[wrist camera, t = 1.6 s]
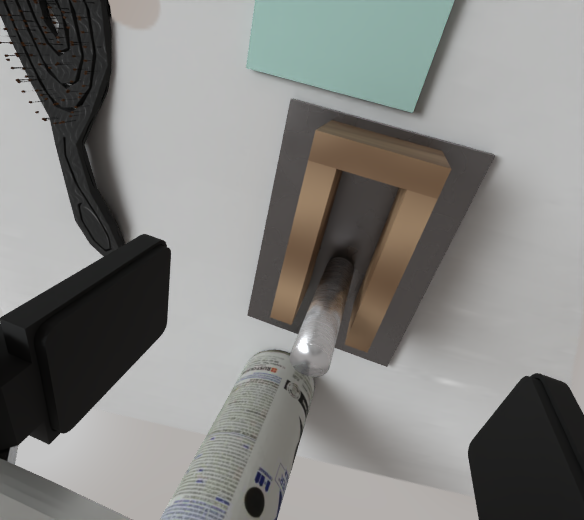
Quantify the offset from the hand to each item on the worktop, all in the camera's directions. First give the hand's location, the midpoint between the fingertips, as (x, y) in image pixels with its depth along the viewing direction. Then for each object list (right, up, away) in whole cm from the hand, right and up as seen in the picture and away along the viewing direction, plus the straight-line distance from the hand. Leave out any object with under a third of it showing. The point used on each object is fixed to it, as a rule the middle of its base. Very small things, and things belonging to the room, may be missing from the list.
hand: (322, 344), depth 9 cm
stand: (+3, +3, +16) cm, 16 cm away
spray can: (-2, -8, +23) cm, 25 cm away
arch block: (+3, +4, +14) cm, 15 cm away
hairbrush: (-16, +14, +17) cm, 27 cm away
